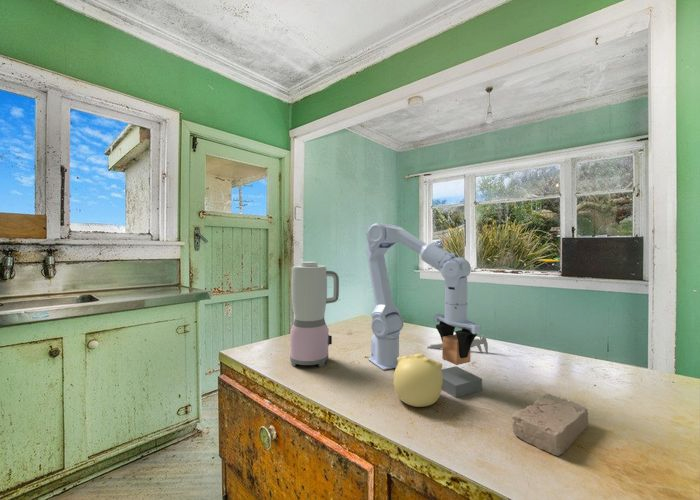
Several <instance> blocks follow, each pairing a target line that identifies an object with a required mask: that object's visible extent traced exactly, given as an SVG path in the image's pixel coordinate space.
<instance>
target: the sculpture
mask: <svg viewBox="0 0 700 500" xmlns="http://www.w3.org/2000/svg"><path fill="white" fill-rule="evenodd" d="M397 361H398V365H397V367H396V368H395V369H394V373H393V378H392V380H393V381H392V382H393V387H394V392H395V394H396V396H397V397H398V399H399V400H400V401H402V402H403V403H404V404H406V405H409V406H411V407H416V408H419V407H420V408H421V407H422V408H423V407H428V406H431V405H433V404H435V403H436V402H437V401H438V399H439V398H440V396H441V393H442V382H443V377H442V369H443V368H442V367H443V364H442V363H441V362H439V361H437V360H435V359H432V358H429V357H428V356H427V355H425V354H423V353H418V352H417V353H414V354H410V355H403V356H399V357H398V358H397Z"/></svg>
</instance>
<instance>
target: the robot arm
mask: <svg viewBox="0 0 700 500" xmlns="http://www.w3.org/2000/svg"><path fill="white" fill-rule="evenodd" d="M366 241H367V244H366V253H365V254H366V259H367V264H368V270H369V274H370V280H371V281H370V282H371V287H372V292H373V297H374V303H375V307H374V309H373V311H372V312H371V323H370V328H371V330H372V333H373V335H371V339H370V357H369V358H368V361H369V362H371V363H372V364H374V365H376V367H377V368H378V367H379V368H380V369H381V370H382V371H386V370H390V369H394V368H395V369H396V367H397V365H398V361H397V358H398V357H400V334H401V331H402V329H403V328H404V323H405V322H404V318H403V317H402V315H401V314H400V313H401V312H400V309H399V307H397V305H396V304H394V302H393V301H394V300H393V295H392V291H391V286H390V285H391V284H390V280H389V276H388V269H387V264H386V259H385V254H386V253H387V251H388V250H389V249H391V248H392V247H393V246H394V245H395V244H397V243H400V244H401V245H403V246H405V247H406V248H408V249H409V250H410V249H411V250H412V251H414V252H416V253H418V254H419V255H420V259H421V261H422V262H424V263H426V264H427V265H429V266H431V267H432V268H434V269H435V270H437V271H439V272H440V274H441V275H442V277H443V278H444V314H443V313H435V314H434V321H433V322H437V323H438V322H439V323H438V324H435V328H436V330H437V332H438V334H439V337H440V338H441V339H440V340H441V342H442V343H443V337H444V336H449V335H455V334H456V335H457V339H458V343H459V355H460V358H466V357H468V353H469V350H470V347H471V344H472V342H473V340H474V339H476V336H477V335H478V334H481V325H480V324H476V323H475V322H473V321H471V320H470V319H469V318H468V276H469V275H470V273H471V270H472V267H471V263H470V262H469V261H468V260H467V259H466V258H465V257H463V256H458V257H457V256H456V253H454V252H449V251H447V250H445V249H444V248H443V247H441V246H442V245H441V244H440V243H439V242H438V243H436V242H435V243H433V242H431V243H428V244H427V243H425V242H424V241H422V240H420V239H419V238H418V237H417V236H415V235H413V234H411V232H409V231H407V230H405V229H404V228H403V227H401V226H398V225H397V224H394V223H393V224H389V223H388V224H387V223H379V222H375V223H373V224H371V226H369V228H368V229H367V231H366ZM456 328H458V329H460V330H455V329H456ZM454 333H455V334H454Z"/></svg>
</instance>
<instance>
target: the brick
mask: <svg viewBox="0 0 700 500" xmlns="http://www.w3.org/2000/svg"><path fill="white" fill-rule="evenodd" d="M588 415H589V412H588V408H587V407H585V406H584V405H582V404H580V403H577V402H576V401H575V402H574V401H572V400H567V399H565V398H562V397H560V396H556V395H552V394H550V393H549V394H544V395H543V396H541V397H539V398H538V399H536V400H535V401H534V402H533V403H532V404H530V405H527V406H526V407H525V408H521V409H519V410H518V411H515V412H514V413H512V416H511V419H512V421H511V423H512V432H513V434H514V435H515V436H517V437H518V438H519V439H521V440H522V441H524V442H526V443H527V444H531V445H533V446H535V447H536V448H537V449H540V450H543V451H545V452H548V453H549V454H552V455H554V456H561V455H562V454H564V453H565V452H566V451H565V450H568V449H569V448H570V447H571V445H572V444H573V443H574V442H575V441H576V440H577V439H578V437H579V436H580V435H581V434H582V433H583V432H584V431H585V430H586V428H588V426H589V419H588V417H589V416H588Z"/></svg>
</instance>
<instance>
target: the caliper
mask: <svg viewBox="0 0 700 500" xmlns="http://www.w3.org/2000/svg"><path fill="white" fill-rule="evenodd" d="M478 336H479V338H474V340H473V342H472V344H471V349H472V348H474V347H477V349H478V351H479V353H481V354H482V353H483V350H482V347H481V345H483V347H484V350H485V353H486V354H488V352H489V348H488V347H489V346H488V345H489V344H488V341H487V337H484V335H478ZM426 348H427V349H432V350H437V349H443V343H434V344H430V345H428V346H426Z"/></svg>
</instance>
